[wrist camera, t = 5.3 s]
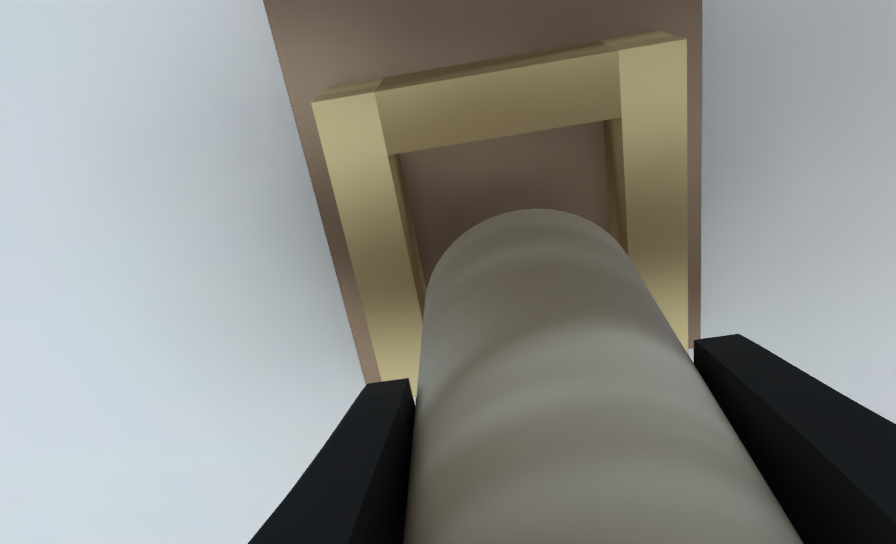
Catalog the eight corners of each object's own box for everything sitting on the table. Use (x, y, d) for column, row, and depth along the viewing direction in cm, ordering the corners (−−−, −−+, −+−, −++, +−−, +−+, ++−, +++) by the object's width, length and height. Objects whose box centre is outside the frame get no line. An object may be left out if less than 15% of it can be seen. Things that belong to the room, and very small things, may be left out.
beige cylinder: (513, 163, 11) (635, 565, 3) (684, 288, 12) (1061, 803, 4) (384, 330, 12) (278, 862, 5) (546, 428, 13) (660, 995, 6)
